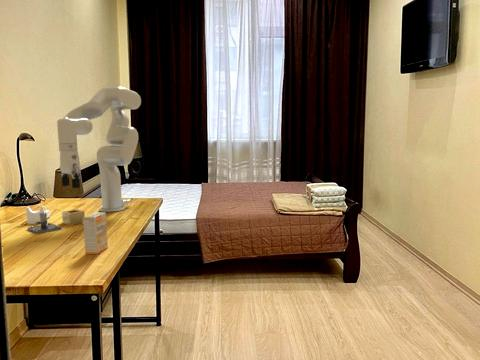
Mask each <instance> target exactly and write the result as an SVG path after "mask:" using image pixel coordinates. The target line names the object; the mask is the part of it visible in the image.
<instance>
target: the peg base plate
mask: <svg viewBox="0 0 480 360" xmlns="http://www.w3.org/2000/svg"><path fill="white" fill-rule="evenodd" d="M39 223H40V224H39V225H31V226H29V227H27V230H28V231H29V232H32V233H34V234H37V235H38V234H43V233H49V232H54V231H58V230H59V231H60V230H62V227H61V226H60V225H58V224H54V223H51V222H48V218H47V213H46V212H43V213H40V222H39Z"/></svg>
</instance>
